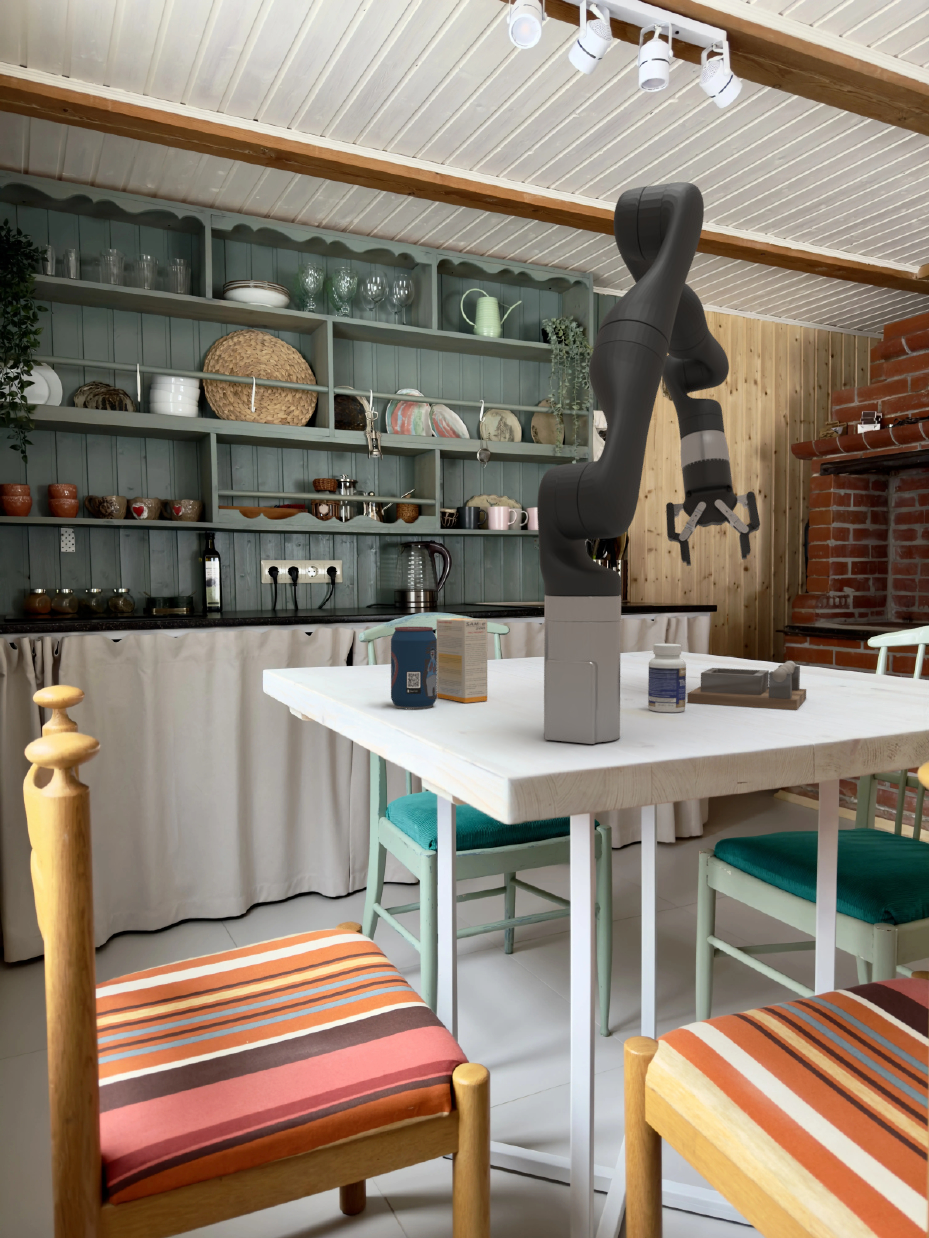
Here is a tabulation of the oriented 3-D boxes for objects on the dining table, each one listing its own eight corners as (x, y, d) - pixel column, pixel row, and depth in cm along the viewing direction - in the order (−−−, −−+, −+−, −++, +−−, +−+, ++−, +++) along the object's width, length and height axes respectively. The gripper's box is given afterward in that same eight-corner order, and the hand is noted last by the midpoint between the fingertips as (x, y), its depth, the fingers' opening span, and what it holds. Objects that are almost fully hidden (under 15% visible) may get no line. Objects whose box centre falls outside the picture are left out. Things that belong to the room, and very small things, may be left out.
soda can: (392, 703, 131) (391, 626, 131) (436, 702, 132) (436, 626, 131) (389, 710, 124) (389, 628, 124) (436, 709, 125) (436, 628, 124)
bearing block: (796, 710, 125) (797, 669, 124) (687, 702, 132) (687, 664, 132) (806, 698, 137) (806, 661, 137) (705, 692, 144) (706, 657, 144)
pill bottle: (686, 713, 121) (687, 646, 121) (648, 712, 122) (649, 645, 122) (684, 708, 127) (685, 643, 126) (647, 707, 128) (648, 642, 127)
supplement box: (489, 701, 134) (489, 618, 133) (464, 703, 131) (464, 619, 130) (459, 695, 140) (459, 616, 140) (435, 697, 138) (435, 617, 137)
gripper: (659, 464, 135) (669, 562, 133) (752, 450, 132) (764, 551, 129) (662, 477, 142) (671, 571, 140) (750, 465, 139) (762, 561, 136)
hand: (716, 561), depth 135 cm, fingers open, 8 cm apart
